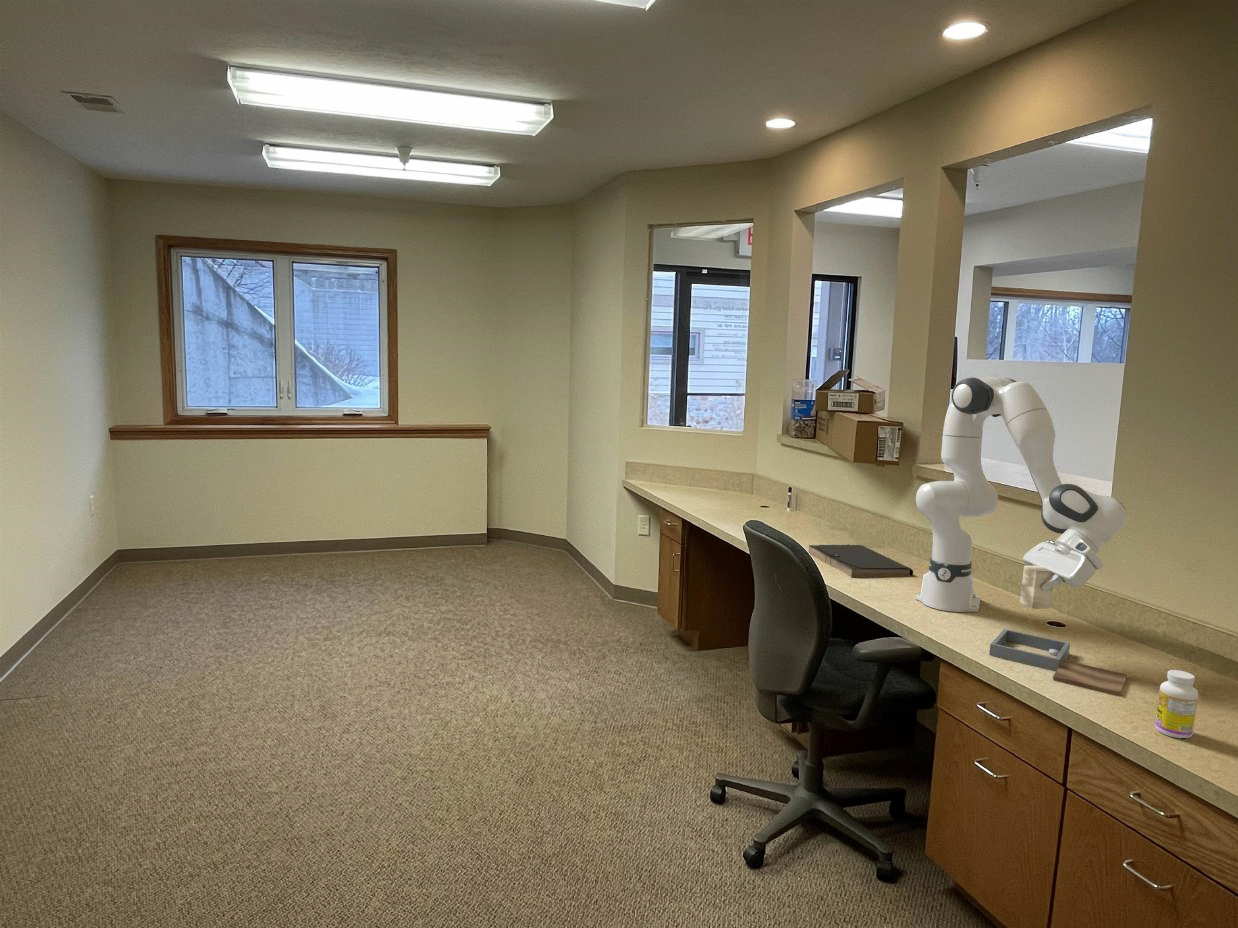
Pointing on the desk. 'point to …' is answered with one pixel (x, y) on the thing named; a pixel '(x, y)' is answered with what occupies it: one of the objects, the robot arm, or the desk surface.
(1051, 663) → the parts tub
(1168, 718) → the supplement bottle
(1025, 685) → the desk surface
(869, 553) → the dark flat wooden case
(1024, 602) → the block
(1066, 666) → the walnut board
